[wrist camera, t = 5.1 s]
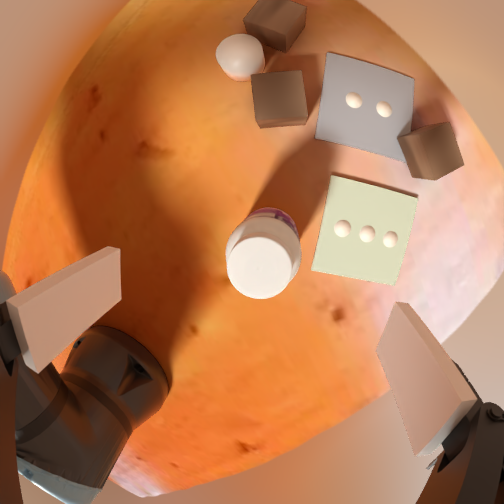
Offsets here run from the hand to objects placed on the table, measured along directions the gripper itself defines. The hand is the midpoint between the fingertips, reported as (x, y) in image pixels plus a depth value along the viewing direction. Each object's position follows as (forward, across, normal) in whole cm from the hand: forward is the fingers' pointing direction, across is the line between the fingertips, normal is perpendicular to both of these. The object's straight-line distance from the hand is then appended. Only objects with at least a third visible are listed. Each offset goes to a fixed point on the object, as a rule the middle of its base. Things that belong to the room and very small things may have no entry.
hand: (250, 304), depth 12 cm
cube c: (+14, +13, +11) cm, 22 cm away
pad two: (+14, +7, +14) cm, 21 cm away
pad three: (+14, +9, +2) cm, 17 cm away
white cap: (+14, -5, +16) cm, 22 cm away
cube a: (+14, -1, +12) cm, 19 cm away
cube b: (+12, 0, +20) cm, 23 cm away
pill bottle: (+14, 0, 0) cm, 15 cm away
